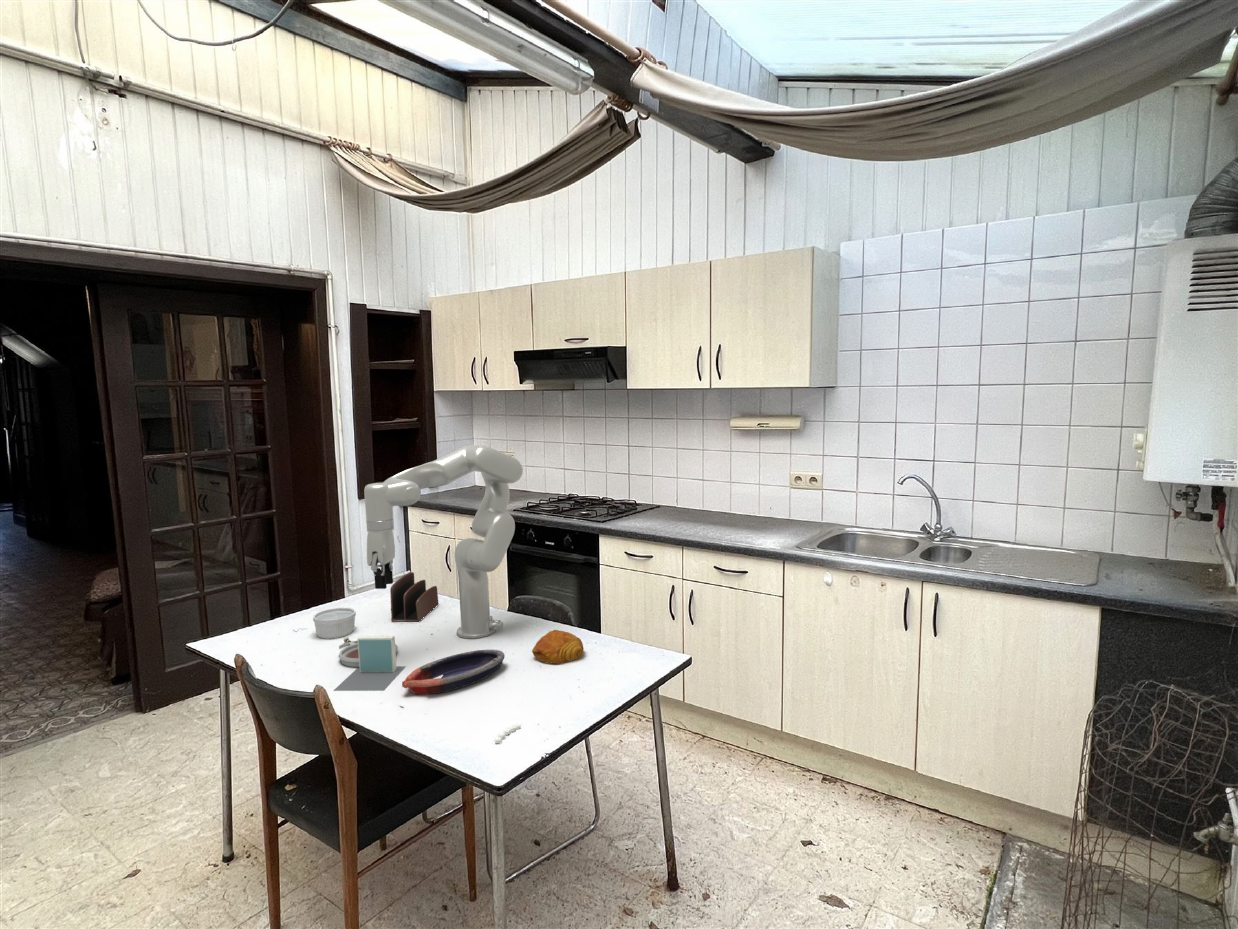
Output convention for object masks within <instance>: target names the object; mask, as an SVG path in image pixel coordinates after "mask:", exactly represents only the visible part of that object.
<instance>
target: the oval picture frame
mask: <svg viewBox="0 0 1238 929" xmlns="http://www.w3.org/2000/svg"><path fill="white" fill-rule="evenodd" d="M343 642H344V643H342V644H340V645H338V648H339V649H341V648H342V649H341V650H340V651H339V653H338V658H339V660H340V661H341V663H342V665H344V666H347V667H351V668H358V667H359V653H358V639H356V640H353V641H352V640H350V638H349V637H348V636H344V637H343ZM398 649H399V647H398V645H397V644H396V643H395V652H396V653H397V652H398Z"/></svg>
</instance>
